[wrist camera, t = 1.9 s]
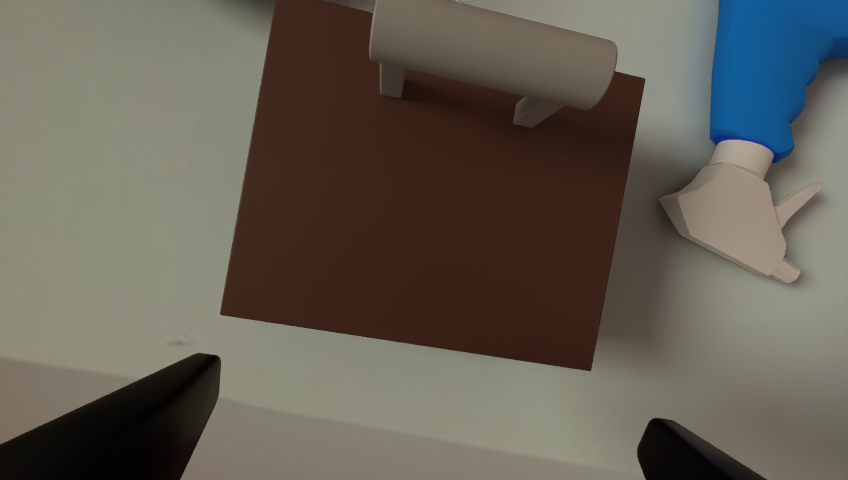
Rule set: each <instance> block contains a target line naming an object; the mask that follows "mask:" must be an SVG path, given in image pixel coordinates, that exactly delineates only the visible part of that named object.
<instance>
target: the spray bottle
mask: <svg viewBox="0 0 848 480" xmlns="http://www.w3.org/2000/svg"><path fill="white" fill-rule="evenodd" d="M847 57H848V0H719V18H718V27H717V36H716V44H715V53H714V62H713V71H712V87H711V115H710V139H711V140H712V141H713V142H714V143H715V144H717V146H716V149H715V151H714V153H713V156H712V158H711V160H710V163H709V165H708V166H704V167H703V168H702V169H701V170H700V172H699V173H698V174H697V176H696V177H695V178H694V180H693V181H692V182H691V183H690V184H688V185H687V186H686V187H684V188H683V189H682V190H680V191H679V192H676V193H673V194H670V195H667V196H663V197H661V198H660V199H659V202H660V204H661V205H662V207H663V208H664V210H665V212H666V213H667V215H668V216H669V218H670V219H671V221H672V223H673V224H674V226H675V227H676V229H677V231H678V232H679V234H680V235H681V236H683V237H685V238H687V239H689V240H691V241H693V242H695V243H696V244H698V245H700V246H702V247H704V248H706V249H708V250H710V251H712V252H714V253H716V254H718V255H719V256H721V257H723V258H725V259H727V260H729V261H731V262H733V263H735V264H737V265H739V266H741V267H743V268H744V269H746V270H748V271H750V272H752V273H754V274H757V275H764V276H769V277H771V278H773V279H775V280H777V281H779V282H782V283H790V282H792V281H794V280H796V279H797V278H798V276H799V275H800V273H801V272H800V270H799V268H798V266H796V265H795V264H793V263H792V262H790V261H789V260H787V259H786V258H784V255H785V252H786V245H787V244H786V242H785V239H784V237H783V234H782V232H781V229H782V228H783V227H784V225H785V224H786V222H787V221H788V219H789V218H790V217H791V216H792V215H793V214H794V213H795V212H796V211H797V210H799V209H800V208H801V207H802V206H803V205H804V204H805V203H806V202H807V201H808V200H809V199H810V198H811V197H813V196H814V195H815V194H816V193H817V192H818V191H819V190H820V189H821V188H822V186H821V184H820V182H819V183H811V184H809V185H807V186H805V187H803V188H801V189H799V190H796V191H795V192H793V193H791V194H790V195H788V196H786V197H785V198H783V199H781V200H780V201H778V202H777V203H775V204H773V203H772V198H771V194H770V190H769V185H768V183H766V182H765V181H763V179H764V177H765V175H766V173H767V171H768V168H769V166H770V164H771V163H777V162H778V161H780V160H782V159H783V158H785V157H786V156H788V155H790V153H791V151H792V149H793V148H794V142H793V137H792V132H791V127H790V124H791V123H792V121H793V120H794V119H795V118H796V117H797V116H798V115H799V114H800V113H801V112H802V110H803V108H804V106H805V101H806V87H807V86H808V85H809V84H810V83H812V82H813V80H814V78H815V76H816V74H817V72H818V71H819V69H820V67H819V63H820V62H821V61H823V60H824V59H833V58H847Z"/></svg>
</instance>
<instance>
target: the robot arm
mask: <svg viewBox="0 0 848 480" xmlns="http://www.w3.org/2000/svg"><path fill="white" fill-rule="evenodd" d="M220 371H221V360H220V358H219V356H217V355H210V354H203V353H196V354H194V355H192V356H189V357H187V358H185V359H183V360H181V361H179V362H177V363H174V364H172V365H170V366H168V367H166V368H164V369H161V370H159V371H157V372H155V373H153V374H151V375H149V376H146V377H144V378H142V379H140V380H138V381H136V382H134V383H131V384H129V385H127V386H125V387H123V388H121V389H119V390H116V391H114V392H112V393H110V394H108V395H106V396H103V397H101V398H100V399H97V400H95V401H93V402H91V403H88V404H86V405H84V406H82V407H80V408H78V409H76V410H74V411H71V412H69V413H67V414H65V415H63V416H61V417H58V418H57V419H54V420H52V421H50V422H48V423H45V424H43V425H41V426H39V427H37V428H35V429H33V430H31V431H28V432H26V433H24V434H22V435H20V436H18V437H15V438H13V439H11V440H9V441H7V442H5V443H2V444H0V480H180V478H181V476H182V474H183V472H184V470H185V468H186V466H187V464H188V462H189V460H190V458H191V455H192V453H193V451H194V449H195V447H196V445H197V443H198V441H199V438H200V436H201V434H202V432H203V430H204V428H205V426H206V424H207V421H208V419H209V417H210V415H211V413H212V411H213V409H214V407H215V404H216V402H217V399H218V395H219V386H220ZM637 456H638V460H639V463H640V466H641V468H642V471H643V473H644V476H645V478H646V480H767V479H765V478H764V477H762V476H761V475H759V474H757V473H756V472H754V471H753V470H751V469H749V468H748V467H746V466H745V465H743V464H741V463H740V462H738V461H737V460H735V459H734V458H732V457H730V456H729V455H727V454H726V453H724V452H722V451H721V450H719V449H718V448H716V447H714V446H713V445H711V444H710V443H708V442H707V441H705V440H703V439H702V438H700V437H699V436H697V435H695V434H694V433H692V432H691V431H689V430H688V429H686V428H684V427H683V426H681V425H680V424H678V423H676V422H675V421H672V420H668V419H661V418H654V419H652V420H651V421H649V423H648V425H647V427H646V430H645V432H644V434H643V436H642V439H641V441H640V443H639V445H638V449H637Z"/></svg>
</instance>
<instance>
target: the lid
mask: <svg viewBox="0 0 848 480" xmlns="http://www.w3.org/2000/svg"><path fill="white" fill-rule="evenodd" d="M616 63H617V47H616V45H615V43H614V42H613V41H610V40H606V39H602V38H598V37H594V36H590V35H586V34H582V33H578V32H574V31H570V30H566V29H562V28H558V27H554V26H550V25H546V24H542V23H538V22H534V21H530V20H526V19H522V18H518V17H514V16H510V15H506V14H502V13H498V12H494V11H490V10H486V9H482V8H478V7H474V6H470V5H466V4H462V3H458V2H454V1H450V0H376V1H375V6H374V12H373V13H371V12H367V11H363V10H358V9H354V8H350V7H346V6H342V5H338V4H334V3H329V2H325V1H321V0H276V2H275V8H274V13H273V19H272V25H271V30H270V36H269V41H268V47H267V53H266V58H265V64H264V69H263V75H262V81H261V86H260V92H259V98H258V103H257V109H256V114H255V120H254V126H253V131H252V137H251V142H250V148H249V154H248V159H247V165H246V170H245V176H244V182H243V187H242V193H241V199H240V204H239V210H238V215H237V221H236V227H235V232H234V238H233V243H232V249H231V255H230V260H229V266H228V272H227V277H226V283H225V288H224V294H223V300H222V305H221V311H220V315H225V316H231V317H238V318H244V319H251V320H257V321H264V322H271V323H277V324H284V325H290V326H297V327H304V328H310V329H317V330H323V331H330V332H336V333H343V334H350V335H356V336H363V337H369V338H376V339H382V340H389V341H396V342H402V343H409V344H415V345H422V346H428V347H435V348H442V349H448V350H455V351H461V352H468V353H475V354H481V355H488V356H494V357H501V358H507V359H514V360H521V361H527V362H534V363H540V364H547V365H553V366H560V367H567V368H573V369H580V370H586V371H591V368H592V362H593V357H594V352H595V346H596V341H597V336H598V330H599V325H600V320H601V314H602V309H603V303H604V298H605V293H606V287H607V282H608V277H609V271H610V266H611V261H612V255H613V250H614V245H615V239H616V234H617V229H618V223H619V218H620V212H621V207H622V202H623V196H624V191H625V186H626V180H627V175H628V170H629V164H630V159H631V154H632V148H633V143H634V138H635V132H636V127H637V121H638V116H639V111H640V105H641V100H642V95H643V89H644V84H645V78H641V77H636V76H632V75H628V74H624V73H620V72H616V71H615V68H616Z"/></svg>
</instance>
